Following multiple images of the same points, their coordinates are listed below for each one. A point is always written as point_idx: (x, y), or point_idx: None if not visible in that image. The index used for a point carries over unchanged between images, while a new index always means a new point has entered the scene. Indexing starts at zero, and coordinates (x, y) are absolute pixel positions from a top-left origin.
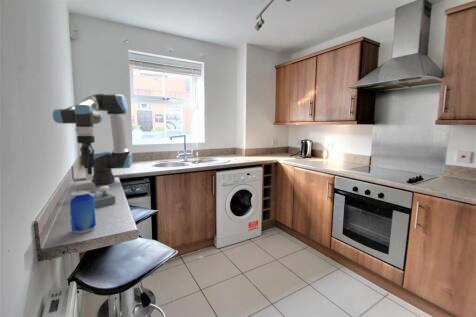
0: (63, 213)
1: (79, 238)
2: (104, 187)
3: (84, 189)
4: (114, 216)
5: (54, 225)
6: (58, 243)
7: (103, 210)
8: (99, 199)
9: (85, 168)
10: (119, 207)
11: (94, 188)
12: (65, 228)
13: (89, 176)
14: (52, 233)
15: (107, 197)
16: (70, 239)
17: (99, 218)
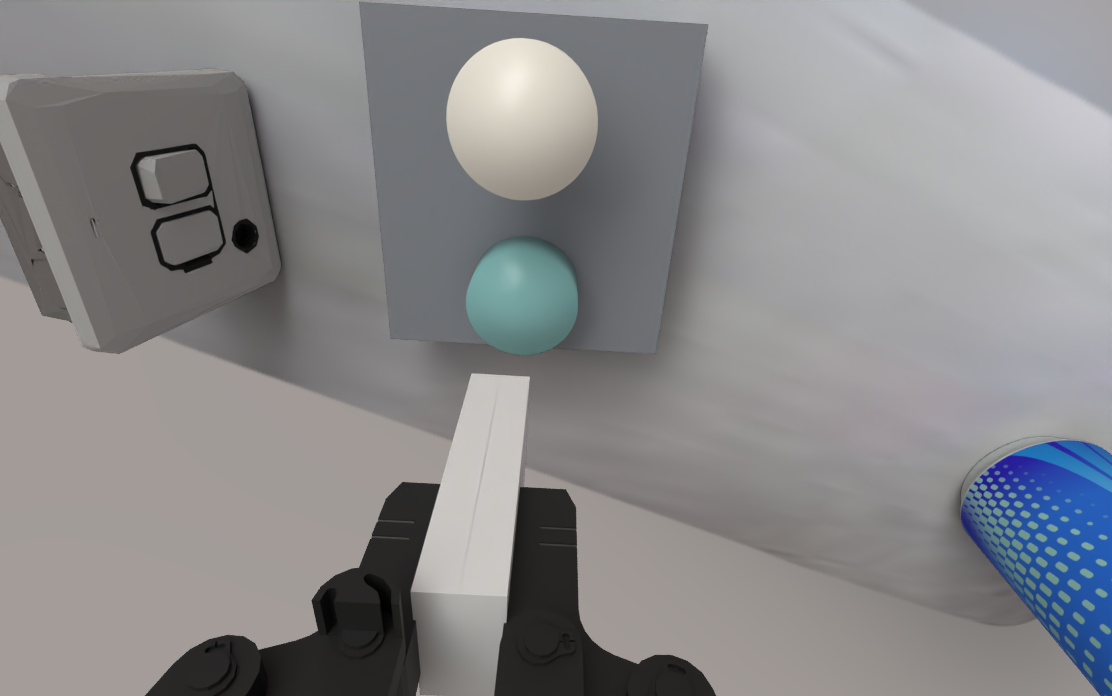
0: (556, 460)
1: None
2: (581, 144)
3: (160, 246)
4: (1043, 251)
5: (756, 549)
6: None
7: (789, 241)
8: (659, 238)
9: (449, 684)
10: (873, 78)
11: (128, 97)
12: (873, 531)
13: (523, 473)
14: (872, 582)
15: (662, 129)
16: None
17: (942, 348)
